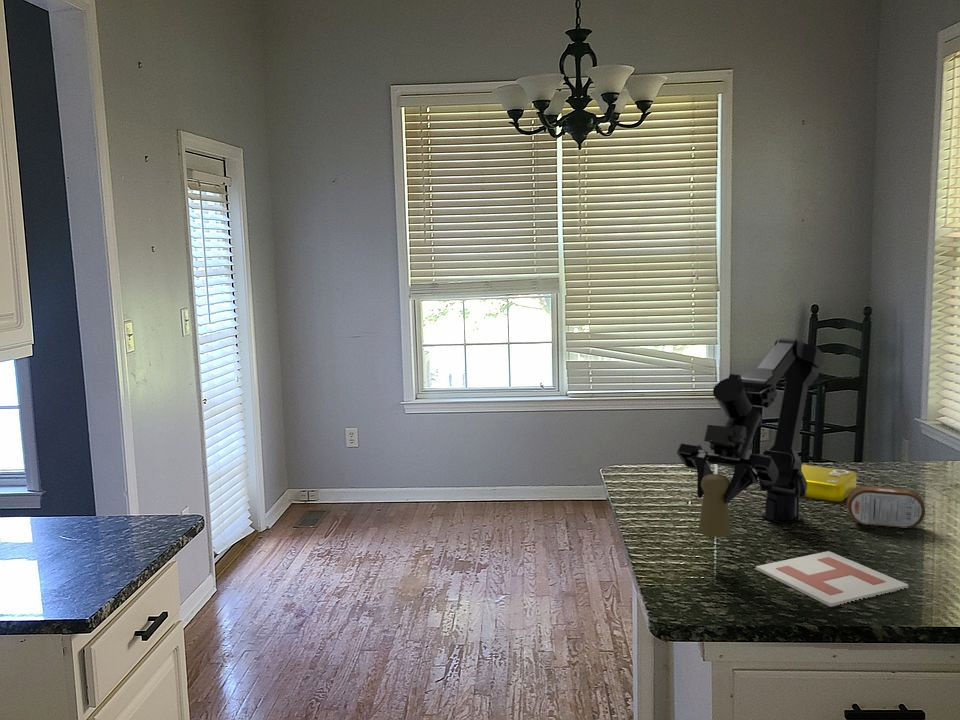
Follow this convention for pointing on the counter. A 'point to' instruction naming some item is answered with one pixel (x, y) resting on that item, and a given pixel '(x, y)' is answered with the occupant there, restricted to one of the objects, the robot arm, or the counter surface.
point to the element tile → (828, 482)
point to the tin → (885, 506)
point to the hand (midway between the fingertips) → (711, 499)
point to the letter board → (831, 578)
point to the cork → (714, 506)
